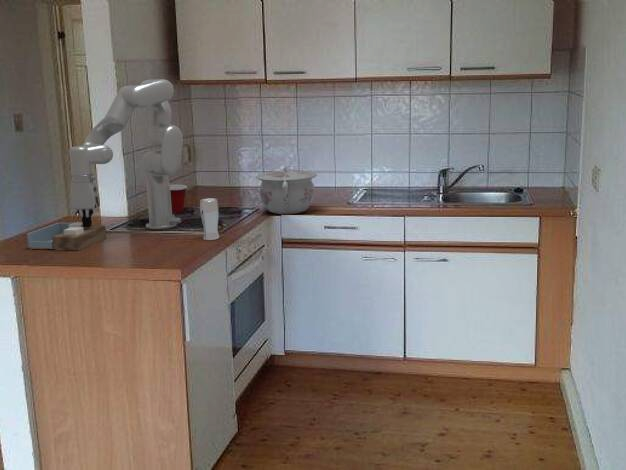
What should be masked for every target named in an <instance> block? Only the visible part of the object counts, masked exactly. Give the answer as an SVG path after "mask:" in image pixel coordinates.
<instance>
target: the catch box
mask: <svg viewBox="0 0 626 470" xmlns="http://www.w3.org/2000/svg"><path fill="white" fill-rule="evenodd" d="M72 223H73V222H56V223H53V224H50V225H48V226H45V227H42V228H39V229H36V230H33V231H31V232H28V233H26V237H27V244H28V248H29V247H31V248H49V249H53V248H54V247H53V239H52V237H53V236H56V235H59V234H61V233H64V230H65V229H68V228H69V226H68V225H69V224H72Z"/></svg>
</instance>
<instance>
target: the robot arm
mask: <svg viewBox="0 0 626 470" xmlns="http://www.w3.org/2000/svg"><path fill="white" fill-rule="evenodd" d="M174 89H175V88H174V86H173V83H171V81H169V80H167V79H146V80H143V81H142V82H140V84H139V85H137V84H136V85H125V86H122V87H121V88H120V89H119V90H118V92H117V93H116V95H115V97H114V99H113V101H112V103H111V105H110V107H109V109H108V111H107V112H106V115H104V117H103V119H101V120H100V121H99V122H98V123H97V124H96V125H95V126H94V127H93V128H92V129H91V131H90V132H89V133H88V135H87V137H86V138H85V141H84V142H83V143H82V145H78V146H72V147H70V149H69V151H68V153H69V161H70V172H71V180H72V181H71V183H70V194H69V195H70V206H71V208H72V210H71V211H72V212H74V213H77V214H78V215H80V218H81V220H82V221H81V222H82V223H83V227H86V228H88V227H90V226H92V217H93V215H94V213H97V212H99V211H100V207H101V201H100V193H99V189H98V186H97V183H96V182H95V181H94V180H96V178H97V177H96V176H95V175H94V173H93V166H92V165H105V164H108V163H110V162H111V161H112V160H113V158H114V157H113V156H114V152H113V149H112V148H111V147H110V146H109V145H106V144H105V143H106V142H107V141H108V140H109V139H110V138H111V137H113V136H115V135H116V134H118V133H120V132H122V131H123V130H124V129H126V127H127V125H128V123H129V122H130V119H131V118H132V116H133V114H134V112H135V110H136V109H137V108H138V109H139V108H140V109H143V108H146V107H147V108H148V109H149V126H148V136H147V137H148V138H147V140H148V144H150V145H151V146H153V147H155V148H160V150H150V151H147V152H146V153H145V154H144V155H143V157H142V161H141V166H142V170H143V174H144V177H145V185H146V196H147V198H146V199H147V210H148V211H147V212H148V220H149V222H147V223H146V224H145V228H146V229H149V230H165V229H171V228H174V227H177V224H180V223H182V218H181V217H176V216H175V214H173V212H172V206H171V194H170V185H171V183H170V179H169V177H168V176H173V175H175V174H177V173H178V171H179V170H180V168H181V163H182V162H181V161H182V155H183V154H182V153H183V142H184V138H183V133H182V131H181V129H180V128H179V127H178V126H176V125H174V124H172V108H171V105H170V102H169V100H171V98H173V97H174V94H175V93H174V92H175V90H174Z"/></svg>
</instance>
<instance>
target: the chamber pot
mask: <svg viewBox="0 0 626 470" xmlns="http://www.w3.org/2000/svg"><path fill="white" fill-rule="evenodd" d="M317 176H318V174H317V173H316V172H312V171H309V170H299V169H298V170H297V169H288V166H285V167H284V168H283V170H281V169H280V170H273V171H267V172H264V173H260V174H258V175H256V176H255V178H256V179H257V180H259V181H260V182H261V184H260V186H259V194H260V198H261V202H262V204H263V205H264V207H265V208H266V209H267V211H268V212H269V213H272V214H275V215H280V216H287V215H288V216H290V215H298V214H301V213H304V212H306V211H307V210H308V209H309V208H310V206H311V204H312V202H313V200H314V195H315V184H314V183H313V181H312V179H313V178H316V177H317Z"/></svg>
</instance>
